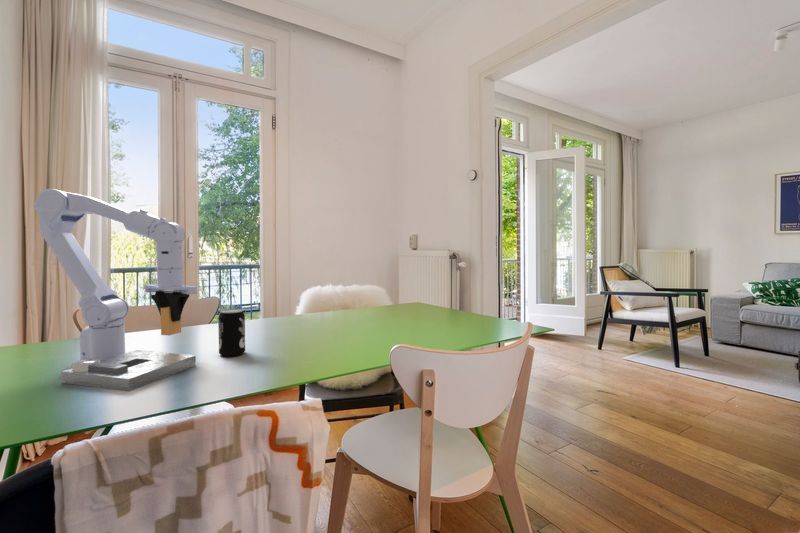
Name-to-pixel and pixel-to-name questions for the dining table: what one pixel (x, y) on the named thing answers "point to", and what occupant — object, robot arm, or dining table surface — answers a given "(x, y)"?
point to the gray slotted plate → (127, 369)
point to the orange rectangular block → (169, 323)
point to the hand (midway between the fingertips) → (171, 320)
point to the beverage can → (231, 332)
